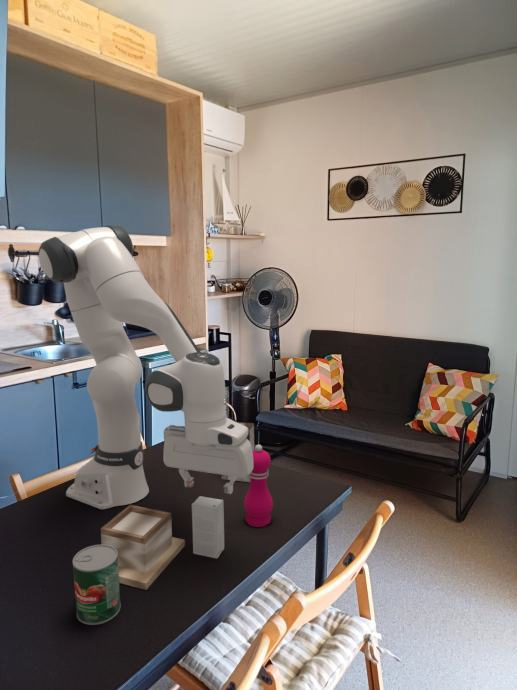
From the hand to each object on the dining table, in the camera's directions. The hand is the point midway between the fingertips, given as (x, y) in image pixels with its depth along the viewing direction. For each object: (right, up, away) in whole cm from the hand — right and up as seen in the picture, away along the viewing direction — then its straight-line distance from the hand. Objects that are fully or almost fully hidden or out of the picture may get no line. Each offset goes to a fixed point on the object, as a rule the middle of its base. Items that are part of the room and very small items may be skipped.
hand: (208, 489), depth 108 cm
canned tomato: (-19, -18, -15) cm, 30 cm away
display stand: (-15, -15, 0) cm, 22 cm away
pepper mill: (+11, -13, +16) cm, 23 cm away
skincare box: (0, -15, +3) cm, 15 cm away
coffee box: (+5, -8, +40) cm, 41 cm away
